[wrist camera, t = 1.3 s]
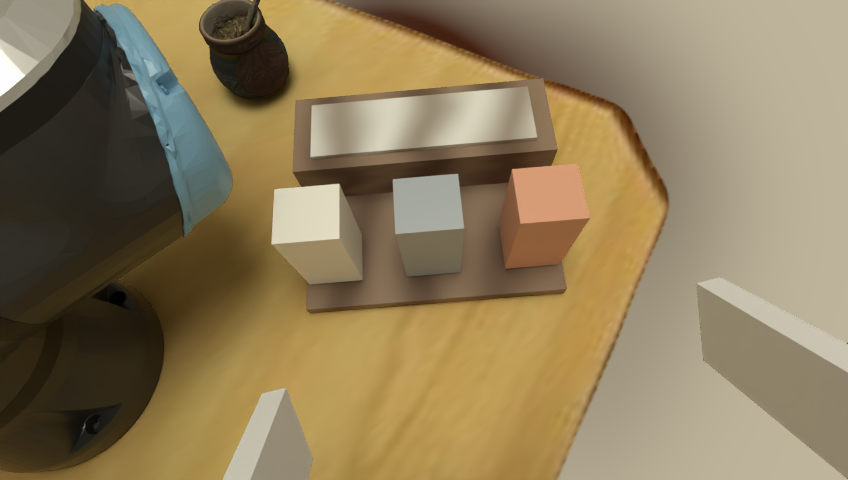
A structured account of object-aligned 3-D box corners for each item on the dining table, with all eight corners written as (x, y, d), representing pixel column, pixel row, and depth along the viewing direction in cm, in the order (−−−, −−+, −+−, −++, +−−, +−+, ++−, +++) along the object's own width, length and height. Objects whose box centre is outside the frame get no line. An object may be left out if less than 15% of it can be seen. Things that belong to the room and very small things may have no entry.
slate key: (406, 276, 39) (395, 234, 30) (404, 231, 40) (392, 179, 32) (460, 272, 39) (464, 228, 30) (456, 227, 40) (458, 173, 32)
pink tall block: (505, 268, 38) (520, 223, 30) (498, 223, 40) (511, 169, 32) (559, 264, 38) (590, 217, 30) (550, 219, 40) (577, 163, 32)
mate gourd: (213, 78, 49) (160, -5, 40) (275, 42, 51) (238, -45, 42) (247, 122, 47) (200, 45, 38) (311, 83, 49) (280, 0, 39)
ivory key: (309, 284, 39) (271, 244, 30) (310, 239, 40) (274, 189, 32) (363, 280, 39) (339, 238, 30) (361, 235, 40) (339, 183, 32)
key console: (310, 313, 39) (285, 292, 33) (314, 140, 46) (294, 97, 40) (563, 292, 39) (583, 268, 33) (531, 121, 45) (543, 75, 39)
